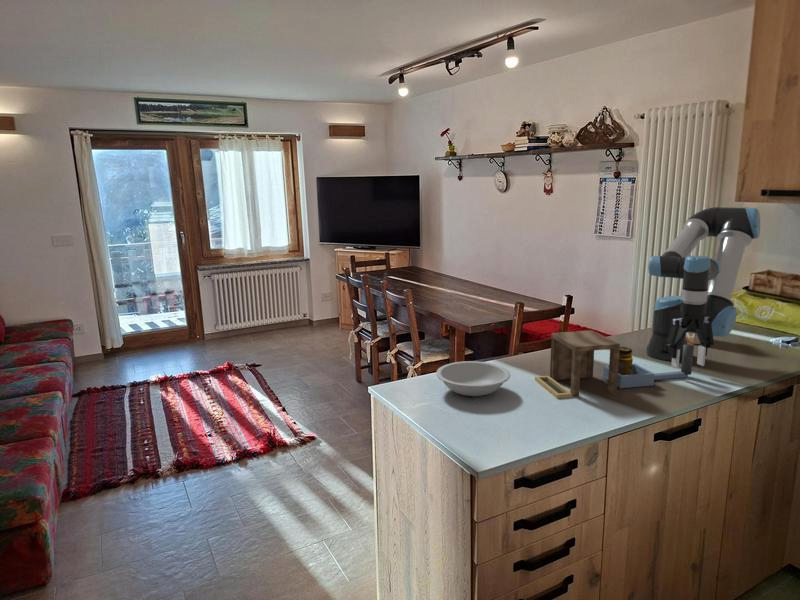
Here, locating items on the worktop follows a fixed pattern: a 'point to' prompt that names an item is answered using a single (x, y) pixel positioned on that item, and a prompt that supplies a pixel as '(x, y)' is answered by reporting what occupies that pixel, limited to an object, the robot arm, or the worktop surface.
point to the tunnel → (581, 357)
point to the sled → (647, 378)
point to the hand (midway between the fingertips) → (687, 365)
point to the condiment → (624, 361)
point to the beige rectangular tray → (553, 387)
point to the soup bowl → (473, 377)
